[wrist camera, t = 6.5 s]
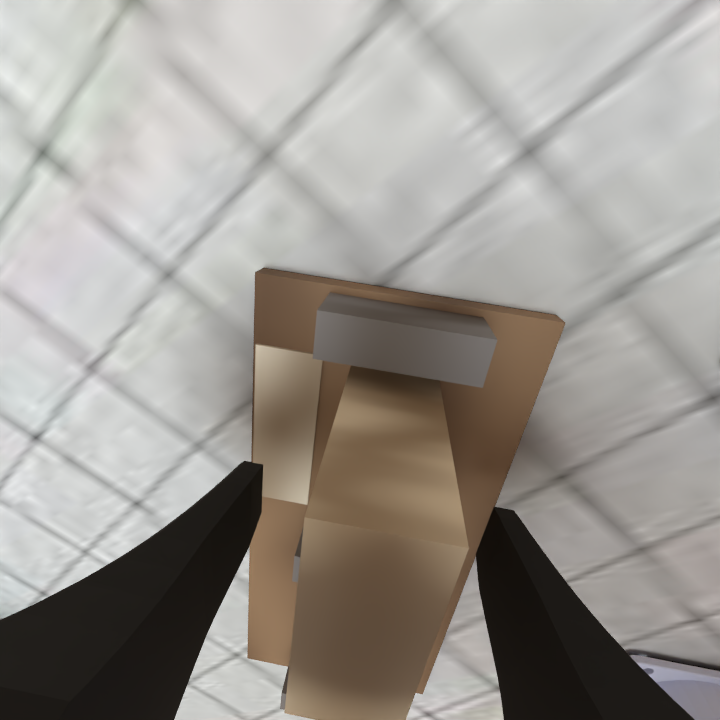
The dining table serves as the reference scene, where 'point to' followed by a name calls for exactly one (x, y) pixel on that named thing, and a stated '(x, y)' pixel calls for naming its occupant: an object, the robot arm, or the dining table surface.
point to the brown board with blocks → (323, 394)
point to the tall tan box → (376, 552)
